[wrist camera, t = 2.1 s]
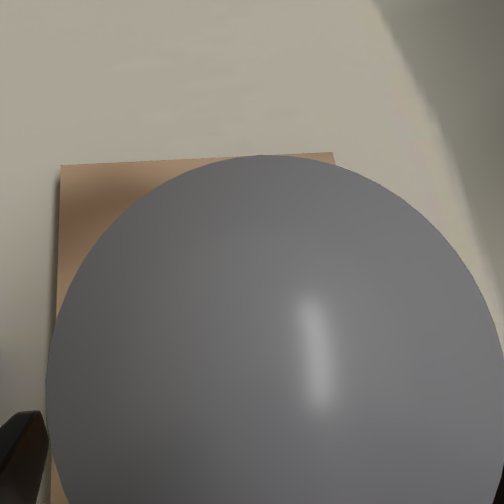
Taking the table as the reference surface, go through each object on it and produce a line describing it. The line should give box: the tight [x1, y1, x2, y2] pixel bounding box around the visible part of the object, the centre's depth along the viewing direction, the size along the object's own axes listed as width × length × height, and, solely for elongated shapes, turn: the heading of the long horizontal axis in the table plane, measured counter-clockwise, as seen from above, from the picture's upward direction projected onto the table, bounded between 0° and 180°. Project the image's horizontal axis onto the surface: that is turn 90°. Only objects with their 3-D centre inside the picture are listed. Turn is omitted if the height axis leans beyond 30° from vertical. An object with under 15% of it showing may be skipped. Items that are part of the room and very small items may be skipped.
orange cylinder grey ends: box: [46, 155, 504, 504], centre depth 11 cm, size 6×6×12 cm
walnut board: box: [50, 152, 335, 504], centre depth 17 cm, size 22×14×1 cm, turn 8°
